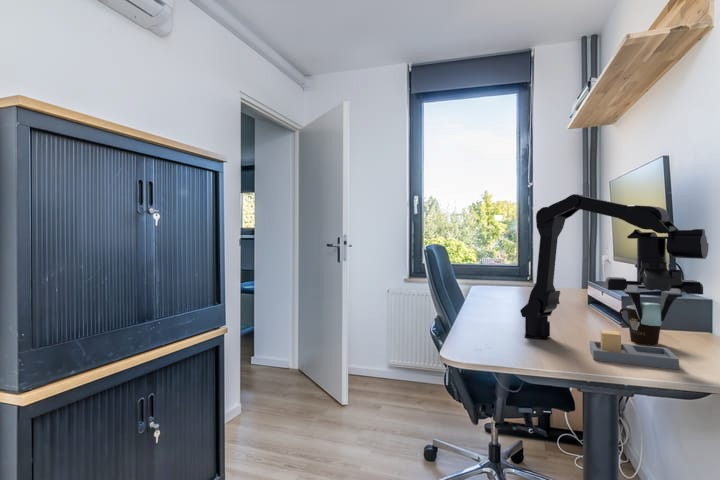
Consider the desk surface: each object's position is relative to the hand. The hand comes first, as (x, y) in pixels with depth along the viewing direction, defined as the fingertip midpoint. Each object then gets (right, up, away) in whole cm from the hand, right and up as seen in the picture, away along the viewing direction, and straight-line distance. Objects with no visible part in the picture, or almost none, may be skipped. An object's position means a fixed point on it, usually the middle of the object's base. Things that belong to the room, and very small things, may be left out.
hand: (650, 320), depth 96 cm
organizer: (-4, -10, +2) cm, 11 cm away
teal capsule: (0, -1, 0) cm, 1 cm away
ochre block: (-8, -9, +4) cm, 12 cm away
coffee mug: (+11, -10, +18) cm, 23 cm away
